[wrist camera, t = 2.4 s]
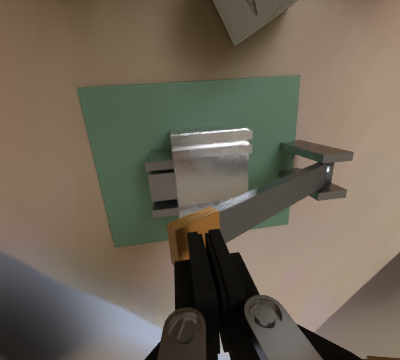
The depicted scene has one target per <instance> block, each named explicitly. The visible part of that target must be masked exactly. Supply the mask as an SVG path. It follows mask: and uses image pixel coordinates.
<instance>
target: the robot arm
mask: <svg viewBox="0 0 400 360" xmlns="http://www.w3.org/2000/svg"><path fill="white" fill-rule="evenodd" d="M187 239H188V249H189V259H188V260H181V261H174V273H175V311H174V312H173V313H171V314H170V315H169V317H168V318H167V319H166V321H165V324H164V327H163V332H162V337H161V341H160V342H159V343H158V345H157V346H156V347H155V348H154V349H153V351H152V352H151V353H150V354H149V355H148V356H147V357H146V359H145V360H218V354H220V338H219V332H220V337H221V341H222V346H223V350H224V353H225V352H229V355H230V359H231V360H400V358H388V357H375V356H367V357H366V359H361V358H359V357H358V356H356V355H355V354H353V353H351V352H350V351H347V350H345V349H344V348H342V347H340V346H338V345H336V344H334V343H332V342H330V341H328V340H327V339H324V338H323V337H321V336H319V335H317V334H315V333H313V332H311V331H309V330H307V329H305V328H304V327H302V326H300V325H298V324H296V323H295V322H294V321H293V319H292V318H291V317H290V315H289V314H288V313H287V311H286V310H285V309H284V307H283V306H282V305H281V304H280V303H279V302H278V301H277V300H275V299H273V298H272V297H269V296H266V295H260V294H259V292H258V290H257V288H256V286H255V284H254V282H253V280H252V278H251V276H250V274H249V272H248V270H247V267H246V265H245V263H244V261H243V259H242V257H241V255H240V253H239V252H236V253H230V254H229V251H228V249H227V246H226V244H225V241H224V239H223V237H222V234H221V232H220V229H211V230H208V233H205V244H204V240H203V236H202V234H198V232H197V231H196V232H188V233H187ZM205 245H206V248H205Z"/></svg>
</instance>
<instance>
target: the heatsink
mask: <svg viewBox="0 0 400 360" xmlns="http://www.w3.org/2000/svg"><path fill="white" fill-rule="evenodd" d="M170 138H171V146H172V148H167V149H156V150H151V151H150V153H149V155H148V157H147V159H146V161H145V170H146V171H149V173H148V180H149V187H150V193H151V200H152V202H154V203H153V208H152V214H153V218H158V217H166V216H174V215H179V219H180V218H182V217H185V216H187V215H190V214H192V213H194V212H197V211H199V210H202V209H204V208H206V207H209V206H210V207H213V206H216V205H218V204H221V203H223V202H225V201H228V200H230V199H232V198H235V197H237V196H240V195H242V194H244V193H247V192H248V163H249V153H252V144H250V143H249V139H253V130H250V129H249V128H246V127H241V126H237V125H221V126H208V127H195V128H183V129H171V130H170ZM280 149H282V150H285V151H288V152H291V153H294V154H297V155H300V156H302V157H305V158H308V159H311V160H314V161H317V162H320V163H333V162H343V161H352V159H353V153H354V152H351V151H346V150H342V149H337V148H333V147H329V146H324V145H320V144H315V143H311V142H306V141H302V140H296V141H291V142H280ZM299 170H301V169H299V168H293V169H291V170H282V171H278V177H280V178H282V177H285V176H287V175H289V174H292V173H294V172H297V171H299ZM346 193H347V190H346V189H344V188H342V187H339V186H337V185H335V184H333V183H331V186H330V187H322V188H320V189H319V190H317V191H315V192H313V193H312V194H310V195H309V196H311V197H313V198H314V199H316V200H317V201H320V200H328V199H337V198H345V197H346Z"/></svg>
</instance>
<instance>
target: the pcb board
mask: <svg viewBox="0 0 400 360" xmlns="http://www.w3.org/2000/svg"><path fill="white" fill-rule="evenodd" d="M299 85H300V75H298V76H280V77H262V78H244V79H226V80H208V81H190V82H172V83H154V84H136V85H118V86H100V87H82V88H77V90H78V94H79V99H80V103H81V107H82V111H83V115H84V120H85V124H86V128H87V132H88V136H89V141H90V145H91V149H92V153H93V158H94V162H95V166H96V170H97V174H98V179H99V183H100V187H101V191H102V196H103V200H104V204H105V208H106V212H107V217H108V221H109V225H110V229H111V234H112V238H113V242H114V246H115V247H120V246H128V245H135V244H143V243H150V242H158V241H166V240H169V238H168V231H167V224H168V223H170V222H173V221H175V220H177V219H179V215H174V216H166V217H158V218H153V214H152V208H153V203H154V202H152V200H151V193H150V187H149V180H148V173H149V171H146V170H145V161H146V159H147V157H148V155H149V153H150V151H151V150H156V149H167V148H172V146H171V138H170V130H171V129H183V128H195V127H208V126H221V125H237V126H241V127H246V128H249V129H250V130H253V139H249V143H250V144H252V153H249V163H248V192H249V191H251V190H254V189H256V188H259V187H261V186H263V185H266V184H268V183H270V182H273V181H275V180H278V179H280V177H278V171H282V170H291V169H293V158H294V153H291V152H288V151H285V150H282V149H280V142H291V141H295V133H296V121H297V109H298V97H299ZM288 219H289V207H288V208H286V209H284V210H282V211H281V212H279V213H277V214H275V215H274V216H272V217H270V218H268V219H267V220H265V221H263V222H262V223H260V224H258V225H256V226H255V227H253V228H251V229H256V228H263V227H271V226H278V225H286V224H288Z"/></svg>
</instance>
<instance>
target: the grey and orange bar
mask: <svg viewBox="0 0 400 360" xmlns="http://www.w3.org/2000/svg"><path fill="white" fill-rule="evenodd" d="M333 167H334V162H333V163H320V162H318V163H316V164H313V165H311V166H308V167H306V168H304V169H301V170H299V171H297V172H294V173H292V174H289V175H287V176H285V177H282V178H280V179H278V180H275V181H273V182H270V183H268V184H266V185H263V186H261V187H259V188H256V189H254V190H251V191H249V192H247V193H244V194H242V195H240V196H237V197H235V198H232V199H230V200H228V201H225V202H223V203H221V204H218V205H216V206H213V207H210V206H209V207H206V208H204V209H202V210H199V211H197V212H194V213H192V214H190V215H187V216H185V217H182V218H180V219H177V220H175V221H173V222H170V223H168V224H167V231H168V238H169V245H170V253H171V260H172V264H173V265H174V261H181V260H188V259H189V249H188V239H187V233H188V232H196V231H197V232H198V234H202V236H203V240H204V244H205V233H208V230H211V229H220V232H221V234H222V237H223V239H224V241H225V243H227V242H229V241H230V240H232V239H234V238H236V237H237V236H239V235H241V234H243V233H244V232H246V231H248V230H249V229H251V228H253V227H255V226H256V225H258V224H260V223H262V222H263V221H265V220H267V219H268V218H270V217H272V216H274V215H275V214H277V213H279V212H281V211H282V210H284V209H286V208H288V207H289V206H291V205H293V204H294V203H296V202H298V201H300V200H301V199H303V198H305V197H307V196H308V195H310V194H312V193H313V192H315V191H317V190H319V189H320V188H322V187H330V186H331V181H332V174H333ZM205 248H206V245H205Z"/></svg>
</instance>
